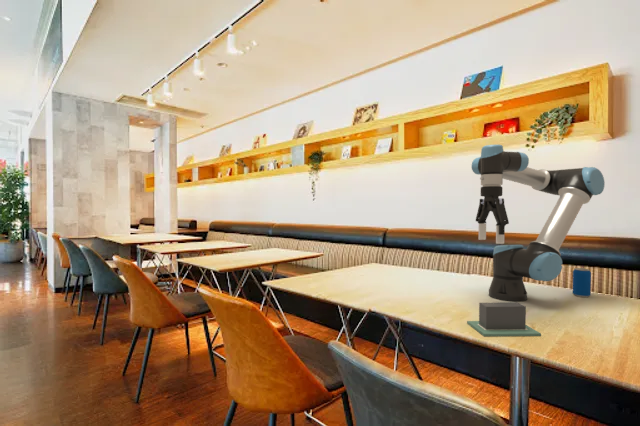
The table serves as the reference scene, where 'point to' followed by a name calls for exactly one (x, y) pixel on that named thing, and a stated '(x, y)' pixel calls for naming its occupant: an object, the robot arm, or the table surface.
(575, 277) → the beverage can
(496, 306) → the block
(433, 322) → the table surface
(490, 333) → the green peg board
